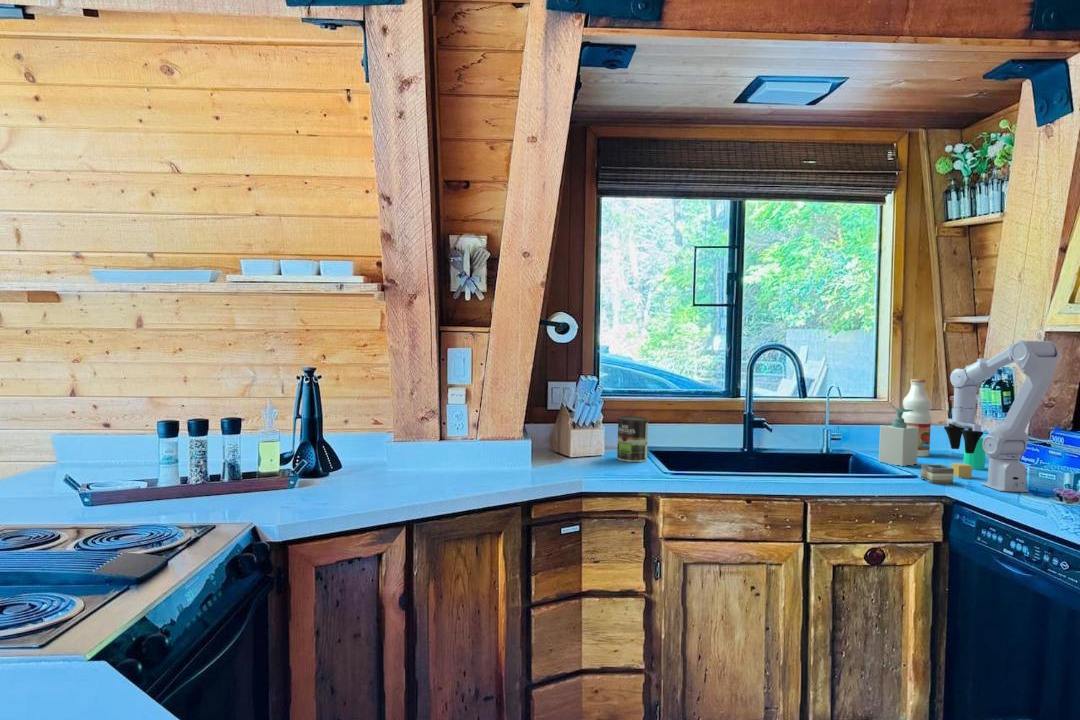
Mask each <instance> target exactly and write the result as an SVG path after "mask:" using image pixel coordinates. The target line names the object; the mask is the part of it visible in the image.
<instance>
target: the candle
mask: <svg viewBox="0 0 1080 720" xmlns="http://www.w3.org/2000/svg"><path fill="white" fill-rule="evenodd" d="M984 438H985V436H984V437H983V436H981V437H980V439H979V441H978V443H977V445H976V448H975V451H974V453H966V452H965V442H964V441H963V447H964V448H963V462H962V463H965V464H968V465H971V466H972V470H973V469H984V470H985V466H986V465H985V461H986V453H985V451H984V449H983V439H984Z"/></svg>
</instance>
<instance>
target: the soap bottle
mask: <svg viewBox="0 0 1080 720" xmlns="http://www.w3.org/2000/svg"><path fill="white" fill-rule="evenodd" d="M893 409H894V410H897V411H896V415H897V417H895V418H894V421H892V423H891V424H881V425H879V442H878V443H879V447H878V463H879V462H885V463H889V464H888V465H890V464H894V465H893V466H895V465H900V466H899V467H901V466H904V467H906V466H905V465H911V466H915V465H914V464H917V465H918V456H917V454H918V431H919V428H918V427H913V426H907V423H905V422H904V419H903V418H902V415H903V412H908V411H913V410H911V409H904V408H899V407H893ZM885 463H884V464H885Z"/></svg>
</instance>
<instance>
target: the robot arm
mask: <svg viewBox="0 0 1080 720" xmlns="http://www.w3.org/2000/svg"><path fill="white" fill-rule="evenodd" d="M1060 357H1061V354H1060V352H1059V349H1058V346H1057V345H1056V344H1055V343H1054V341H1051V340H1043V341H1041V340H1022V339H1020V340H1017V341H1015V342H1013V343H1010V344H1009V346H1008V347H1007V348H1006V349H1004V350H1002V351H1000V352H999V353H998V354H996V355H994V356H993V357H991V358H987V357H985V358H984V357H979V358H978V359H976V362H974V363H971V364H967V365H965V367H964V368H963V369H962V368H955V369H953V371H952V372H951V373H950V375H949V376H950V377H949V379H950V383H951V385H952V386H953V387H954V389H953V409H952V410H953V411H952V414H953V415H952V418H947V419H946V426H944V427H943V429H944V431H945V432H946V434H947V436H948V441H949V445H950V448H951V450H959V449H960V447H961V442H962V441H961V440H962V437H963V443H964V442H965V452H966V453H974V451H975V448H976V445H977V443H978V441H979V439H980V438H981V437H983V435H984V432H983V431H982V425H981V424H979V423H977V422H975V416H976V394H977V393H978V391H979V386H980V385H981V384H982V382H984V381H985V380H987V379H989V378H992V377H994V376H995V375H996V374H997V372H998V369H1001V368H1002V367H1005V366H1007V365H1010V364H1013V363H1015V364H1016V366H1017V367H1018V369H1019V370H1020V372H1021V373H1023V374H1024V375H1025V379H1024V381H1023V383H1022V384H1021V387H1020V389H1019V391H1018V392H1017V394H1016V397H1015V399H1014V400H1013V402H1012V404H1011V406H1010V408H1009V410H1008V412H1007V414H1006V415H1005V418H1004V420H1003V421H1002V423H1000V424H999V425H997V426H995V427H993V428H991V430H990V432H989V433H988V434H987V435H986V436H984V437H985V438H984V439H983V449H984V451H985V455H986V456H987V457H988V469H987V471H988V472H987V482H980V485H982V486H985V487H988V488H990V489H994V490H996V491H1000V492H1011V493H1012V492H1018V493H1020V492H1021V493H1022V492H1023V493H1026V492H1027V493H1028V491H1029V489H1027V488H1026V487H1027V485H1026V484H1027V467H1026V466H1025V464H1024V463H1022V462H1021V461H1020V459H1022V456H1023V455H1024V454H1025V453H1026V452H1027V448H1028V447H1027V446H1028V441H1029V439H1030V436H1029V434H1027V432H1026V428H1027V427H1028V425H1029V423H1030V422H1031V419H1032V418H1033V416H1034V414H1035V412H1036V411H1037V409H1038V407H1039V405H1040V403H1041V401H1042V400H1043V397H1044V396H1045V395H1046V392H1047V390H1048V388H1049V387H1050V385H1051V383H1052V382H1053V379H1054V373H1055V367H1056V364H1057V362H1058V361H1059V359H1060Z"/></svg>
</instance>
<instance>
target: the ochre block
mask: <svg viewBox="0 0 1080 720" xmlns="http://www.w3.org/2000/svg"><path fill="white" fill-rule="evenodd" d="M950 465H951V467H950V468H953V469H954V476H956V477H955V478H957V477H964V478H963V479H972V478H973V477H972V476H973V474H972V473H973V469H972V466H971V465H968V464H965V463H963V462H962V463H961V462H958V463H957V462H952V463H951V464H950ZM954 476H953V477H954Z"/></svg>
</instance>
